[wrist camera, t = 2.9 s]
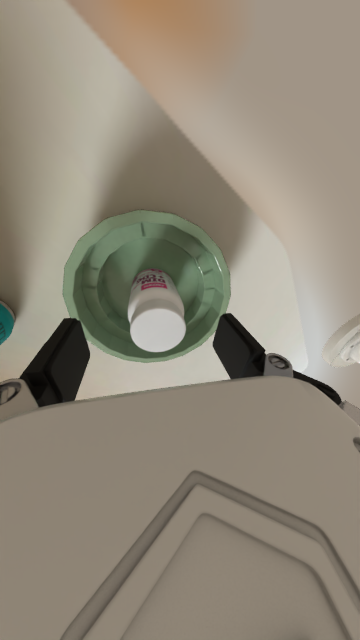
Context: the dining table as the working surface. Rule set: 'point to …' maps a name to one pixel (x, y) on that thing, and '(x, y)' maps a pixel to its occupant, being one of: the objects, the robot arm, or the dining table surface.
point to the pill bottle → (155, 311)
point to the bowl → (130, 259)
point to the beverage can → (5, 321)
